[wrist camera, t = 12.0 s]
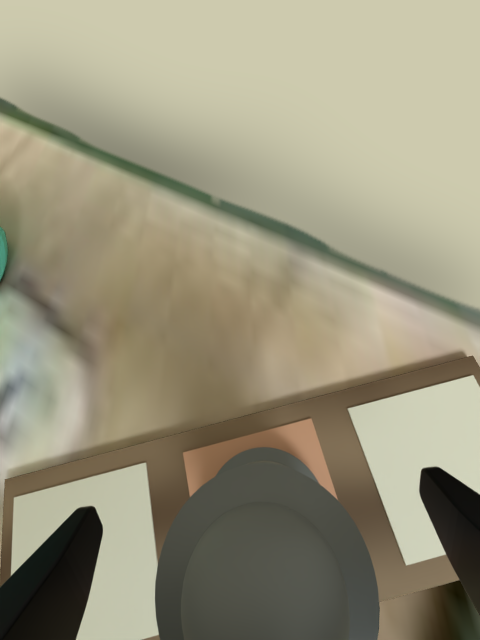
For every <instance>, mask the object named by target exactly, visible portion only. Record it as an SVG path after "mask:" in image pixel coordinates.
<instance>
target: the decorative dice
mask: <svg viewBox="0 0 480 640" xmlns="http://www.w3.org/2000/svg"><path fill="white" fill-rule="evenodd" d="M7 256H8V248H7V240H6V235H5V232H4V230H3V229H2V228H1V227H0V281H1V279H2V276H3V274H4V271H5V267H6V263H7Z"/></svg>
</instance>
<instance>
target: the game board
mask: <svg viewBox="0 0 480 640" xmlns="http://www.w3.org/2000/svg"><path fill="white" fill-rule="evenodd" d="M258 447H270V448H276V449H280V450H283V451H285V452H288V453H290V454H291V455H293V456H295V457H296V458H298V459H299V460H301V461H302V462H303V463H304V464H305V465H306V466H307V467H308V468H309V469H310V471H311V472H312V473H313V474H314V476H315V477H316V479H317V480H318V482H319V484H320V485H321V486H323V487H324V488H325V489H326V490H327V491H329V492H330V493H331V494H332V495H333V496H334V497H335V498H336V499H337V500H338V501H339V502H340V504H341V505H342V506H343V507H344V508H345V509H346V511H347V512H348V514H349V515H350V516H351V518H352V519H353V521H354V522H355V524H356V526H357V528H358V529H359V531H360V533H361V535H362V537H363V539H364V541H365V544H366V546H367V549H368V551H369V554H370V557H371V560H372V564H373V567H374V570H375V575H376V581H377V586H378V594H379V602H383V601H386V600H390V599H393V598H397V597H400V596H404V595H408V594H411V593H415V592H418V591H422V590H425V589H429V588H432V587H436V586H440V585H443V584H447V583H450V582H454V581H457V580H459V578H458V576H457V574H456V573H455V571H454V569H453V567H452V565H451V563H450V561H449V559H448V557H447V555H446V553H445V551H444V549H443V546H442V544H441V542H440V540H439V538H438V535H437V533H436V531H435V529H434V526H433V524H432V522H431V520H430V518H429V515H428V513H427V511H426V509H425V507H424V504H423V502H422V500H421V497H420V494H419V484H420V474H421V470H422V468H425V467H434V466H437V467H440V468H441V469H443V470H444V471H446V472H447V473H449V474H450V475H452V476H453V477H455V478H456V479H458V480H459V481H461V482H462V483H464V484H465V485H467V486H468V487H470V488H471V489H473V490H474V491H476V492H477V493H478V494H480V367H479V365H478V364H477V362H476V360H475V358H474V357H473V356H469V357H466V358H462V359H458V360H454V361H450V362H447V363H443V364H439V365H435V366H432V367H428V368H424V369H420V370H417V371H413V372H409V373H405V374H401V375H398V376H394V377H390V378H386V379H383V380H379V381H375V382H371V383H367V384H364V385H360V386H356V387H352V388H349V389H345V390H341V391H337V392H333V393H330V394H326V395H322V396H318V397H315V398H311V399H307V400H303V401H300V402H296V403H292V404H288V405H284V406H281V407H277V408H273V409H269V410H266V411H262V412H258V413H254V414H250V415H247V416H243V417H239V418H235V419H232V420H228V421H224V422H220V423H217V424H213V425H209V426H205V427H201V428H198V429H194V430H190V431H186V432H183V433H179V434H175V435H171V436H167V437H164V438H160V439H156V440H152V441H149V442H145V443H141V444H137V445H133V446H130V447H126V448H122V449H118V450H115V451H111V452H107V453H103V454H100V455H96V456H92V457H88V458H84V459H81V460H77V461H73V462H69V463H66V464H62V465H58V466H54V467H50V468H47V469H43V470H39V471H35V472H32V473H28V474H24V475H20V476H17V477H13V478H9V479H5V488H4V508H3V528H2V549H1V569H0V586H1V585H2V584H3V583H4V582H5V581H6V580H7V579H8V578H9V577H10V576H11V575H12V574H13V573H14V572H15V571H16V570H17V569H18V568H19V567H20V566H21V565H22V564H23V563H24V562H25V561H26V560H27V559H28V558H29V557H30V556H31V555H32V554H33V553H34V552H35V551H36V550H37V549H38V548H39V547H40V546H41V545H42V544H43V543H44V542H45V541H46V540H47V539H48V538H49V536H50V535H51V534H52V533H53V532H54V531H55V530H56V529H57V528H58V527H59V526H60V525H61V524H62V523H63V522H64V521H65V520H66V519H67V518H68V517H69V516H70V515H71V514H72V513H73V512H74V511H75V510H76V509H78V508H79V507H85V506H94V507H95V508H96V511H97V513H98V515H99V518H100V520H101V523H102V525H103V536H102V540H101V545H100V549H99V554H98V558H97V563H96V567H95V572H94V576H93V581H92V586H91V590H90V594H89V598H88V602H87V605H86V609H85V612H84V615H83V618H82V622H81V625H80V628H79V631H78V634H77V638H76V640H160V637H159V632H158V627H157V621H156V610H155V581H156V574H157V567H158V562H159V558H160V554H161V550H162V547H163V544H164V541H165V538H166V536H167V533H168V531H169V529H170V527H171V525H172V523H173V521H174V519H175V517H176V516H177V514H178V513H179V511H180V510H181V508H182V506H183V505H184V504H185V503H186V502H187V500H188V499H189V498H190V497H191V496H192V495H193V494H194V493H195V492H196V491H197V490H198V489H199V488H200V487H201V486H202V485H204V484H205V483H206V482H208V481H209V480H211V479H212V478H214V477H215V476H216V474H217V473H218V471H219V470H220V469H221V468H222V466H223V465H224V464H225V463H226V462H227V461H228V460H230V459H231V458H232V457H234V456H235V455H237V454H239V453H241V452H243V451H246V450H248V449H252V448H258Z"/></svg>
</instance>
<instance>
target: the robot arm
mask: <svg viewBox="0 0 480 640" xmlns="http://www.w3.org/2000/svg"><path fill="white" fill-rule="evenodd" d="M419 494H420V497H421V500H422V502H423V504H424V507H425V509H426V511H427V513H428V515H429V518H430V520H431V522H432V524H433V526H434V529H435V531H436V533H437V535H438V538H439V540H440V542H441V544H442V546H443V549H444V551H445V553H446V555H447V557H448V559H449V561H450V563H451V565H452V567H453V569H454V571H455V573H456V574H457V576H458V578H459V580H460V581H461V583H462V585H463V587H464V589H465V590H466V592H467V594H468V596H469V597H470V599H471V601H472V603H473V605H474V606H475V608H476V610H477V612H478V613H479V615H480V494H478V493H477V492H476V491H474V490H473V489H471V488H470V487H468V486H467V485H465V484H464V483H462V482H461V481H459V480H458V479H456V478H455V477H453V476H452V475H450V474H449V473H447V472H446V471H444V470H443V469H441V468H440V467H437V466H434V467H425V468H422V470H421V474H420V484H419ZM102 536H103V525H102V523H101V520H100V518H99V515H98V513H97V511H96V508H95V507H94V506H85V507H79V508H78V509H76V510H75V511H74V512H73V513H72V514H71V515H70V516H69V517H68V518H67V519H66V520H65V521H64V522H63V523H62V524H61V525H60V526H59V527H58V528H57V529H56V530H55V531H54V532H53V533H52V534H51V535H50V536H49V538H48V539H47V540H46V541H45V542H44V543H43V544H42V545H41V546H40V547H39V548H38V549H37V550H36V551H35V552H34V553H33V554H32V555H31V556H30V557H29V558H28V559H27V560H26V561H25V562H24V563H23V564H22V565H21V566H20V567H19V568H18V569H17V570H16V571H15V572H14V573H13V574H12V575H11V576H10V577H9V578H8V579H7V580H6V581H5V582H4V583H3V584H2V585H1V586H0V640H76V638H77V634H78V631H79V628H80V625H81V622H82V618H83V615H84V612H85V609H86V605H87V602H88V598H89V594H90V590H91V586H92V581H93V576H94V572H95V567H96V563H97V558H98V554H99V549H100V545H101V540H102Z"/></svg>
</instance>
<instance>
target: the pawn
mask: <svg viewBox="0 0 480 640" xmlns="http://www.w3.org/2000/svg"><path fill="white" fill-rule="evenodd" d="M155 610H156V621H157V627H158V632H159V637H160V640H377V638H378V631H379V611H380V607H379V594H378V586H377V581H376V575H375V570H374V567H373V564H372V560H371V557H370V554H369V551H368V549H367V546H366V544H365V541H364V539H363V537H362V535H361V533H360V531H359V529H358V528H357V526H356V524H355V522H354V521H353V519H352V518H351V516H350V515H349V514H348V512H347V511H346V509H345V508H344V507H343V506H342V505H341V504H340V502H339V501H338V500H337V499H336V498H335V497H334V496H333V495H332V494H331V493H330V492H329V491H327V490H326V489H325V488H324V487H323V486H321V485H320V484H319V482H318V480H317V479H316V477H315V476H314V474H313V473H312V472H311V471H310V469H309V468H308V467H307V466H306V465H305V464H304V463H303V462H302V461H301V460H299V459H298V458H296V457H295V456H293V455H291V454H290V453H288V452H285V451H283V450H280V449H276V448H270V447H258V448H252V449H248V450H246V451H243V452H241V453H239V454H237V455H235V456H234V457H232V458H231V459H230V460H228V461H227V462H226V463H225V464H224V465H223V466H222V468H221V469H220V470H219V471H218V473H217V474H216V476H215V477H214V478H212V479H211V480H209V481H208V482H206V483H205V484H204V485H202V486H201V487H200V488H199V489H198V490H197V491H196V492H195V493H194V494H193V495H192V496H191V497H190V498H189V499H188V500H187V502H186V503H185V504H184V505H183V506H182V508H181V510H180V511H179V513H178V514H177V516H176V517H175V519H174V521H173V523H172V525H171V527H170V529H169V531H168V533H167V536H166V538H165V541H164V544H163V547H162V550H161V554H160V558H159V562H158V567H157V574H156V581H155Z"/></svg>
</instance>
